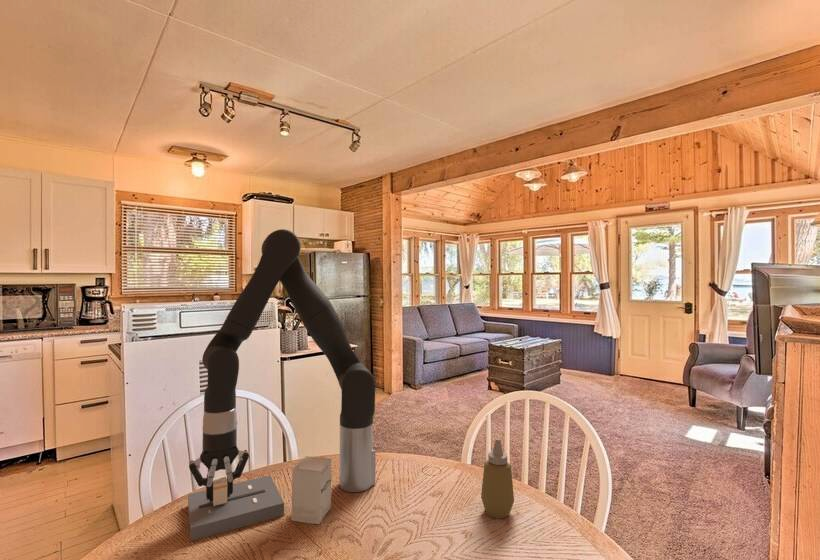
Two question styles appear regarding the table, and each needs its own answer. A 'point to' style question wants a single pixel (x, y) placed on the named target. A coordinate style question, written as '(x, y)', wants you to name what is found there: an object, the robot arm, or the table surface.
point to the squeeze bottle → (497, 483)
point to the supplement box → (311, 489)
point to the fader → (219, 490)
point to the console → (234, 508)
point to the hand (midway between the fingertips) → (219, 497)
